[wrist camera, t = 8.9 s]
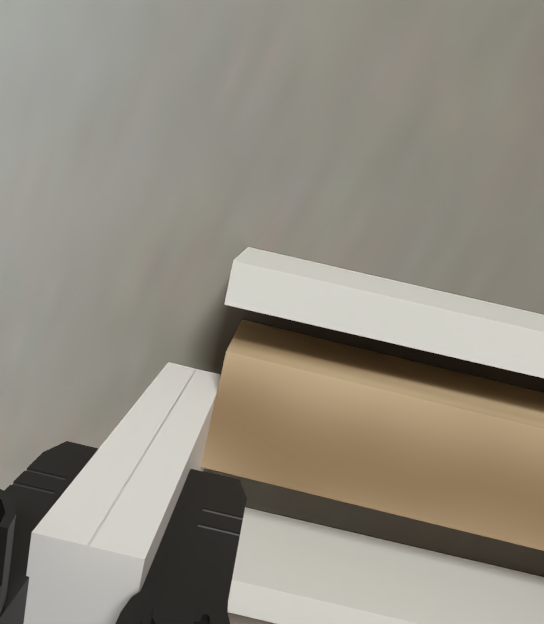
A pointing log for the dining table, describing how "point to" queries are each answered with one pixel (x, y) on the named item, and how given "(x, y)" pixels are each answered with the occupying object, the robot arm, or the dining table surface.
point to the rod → (380, 433)
